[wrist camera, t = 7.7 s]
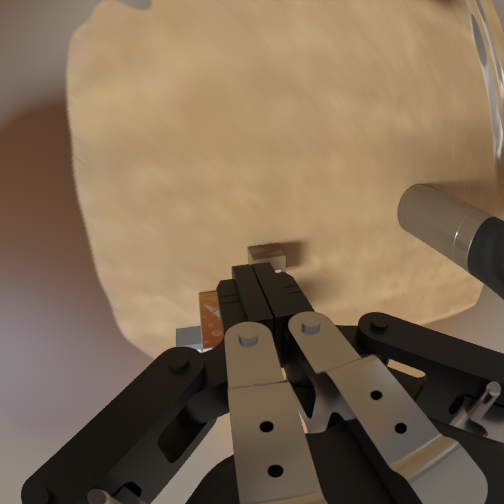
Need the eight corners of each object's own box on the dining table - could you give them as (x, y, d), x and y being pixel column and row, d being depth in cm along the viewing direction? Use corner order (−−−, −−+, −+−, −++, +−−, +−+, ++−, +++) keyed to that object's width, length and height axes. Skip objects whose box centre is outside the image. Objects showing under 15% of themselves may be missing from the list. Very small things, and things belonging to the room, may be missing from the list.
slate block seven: (202, 325, 48) (203, 343, 44) (205, 344, 50) (208, 363, 46) (176, 328, 47) (175, 347, 43) (181, 347, 49) (181, 366, 45)
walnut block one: (276, 242, 44) (286, 256, 40) (277, 269, 46) (285, 284, 42) (247, 246, 43) (253, 260, 39) (249, 273, 45) (255, 288, 41)
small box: (248, 284, 46) (267, 338, 35) (250, 316, 49) (268, 372, 37) (197, 292, 45) (201, 349, 33) (203, 323, 48) (209, 382, 36)
